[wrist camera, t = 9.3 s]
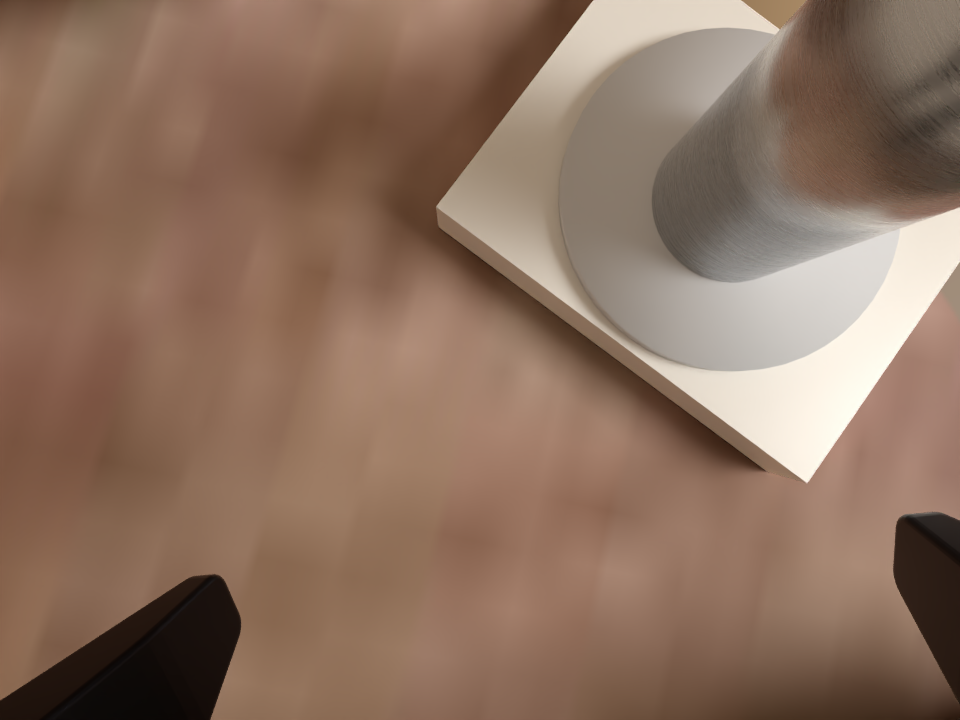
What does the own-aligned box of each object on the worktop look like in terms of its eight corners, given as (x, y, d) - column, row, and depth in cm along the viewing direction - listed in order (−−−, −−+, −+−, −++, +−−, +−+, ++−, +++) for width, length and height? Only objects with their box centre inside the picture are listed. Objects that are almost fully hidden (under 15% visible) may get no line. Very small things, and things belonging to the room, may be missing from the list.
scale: (767, 472, 20) (817, 486, 17) (438, 226, 19) (435, 201, 17) (951, 207, 20) (1027, 180, 18) (634, -32, 20) (661, -96, 17)
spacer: (701, 311, 17) (1519, 65, 4) (622, 169, 17) (1164, -535, 4) (838, 236, 17) (2036, -233, 4) (760, 96, 17) (1693, -792, 4)
